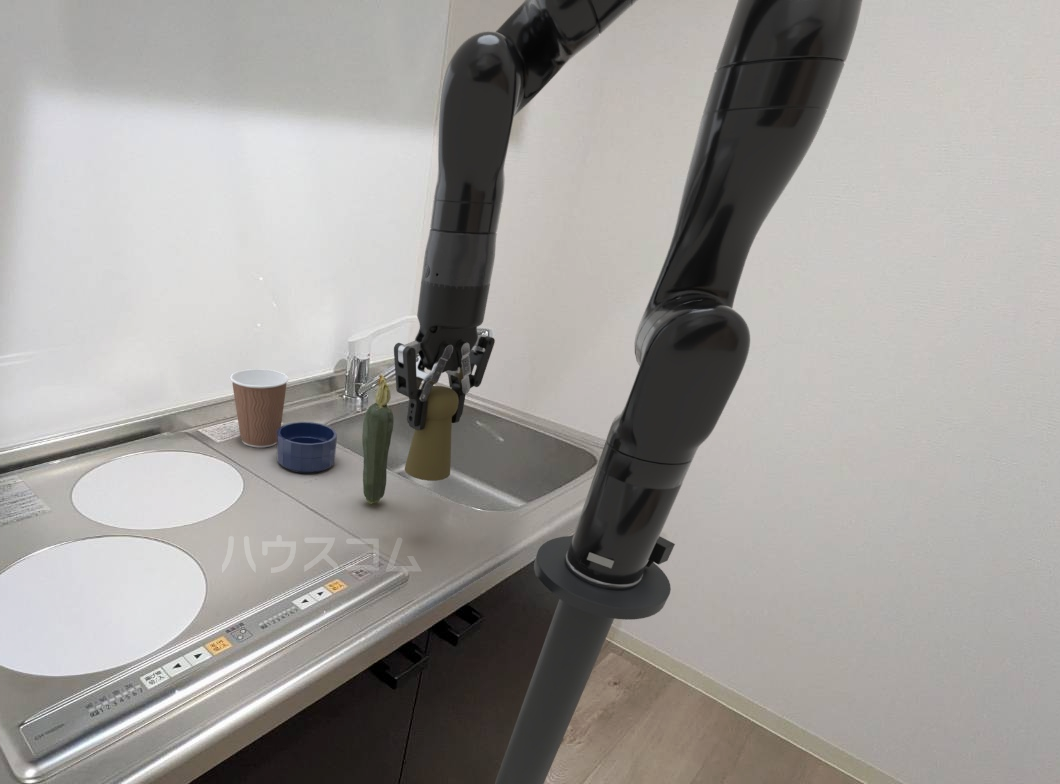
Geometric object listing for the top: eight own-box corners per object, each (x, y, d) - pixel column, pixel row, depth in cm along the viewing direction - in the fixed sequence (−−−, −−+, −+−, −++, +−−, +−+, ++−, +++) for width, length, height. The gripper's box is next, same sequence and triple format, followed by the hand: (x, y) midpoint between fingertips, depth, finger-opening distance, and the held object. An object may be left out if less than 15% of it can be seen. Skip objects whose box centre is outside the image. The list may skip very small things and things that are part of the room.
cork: (398, 475, 75) (408, 391, 69) (411, 457, 80) (421, 378, 74) (444, 484, 74) (458, 399, 68) (454, 466, 78) (468, 385, 72)
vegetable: (383, 513, 89) (399, 383, 77) (355, 511, 89) (367, 380, 78) (383, 499, 92) (398, 373, 81) (355, 497, 92) (367, 371, 81)
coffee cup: (296, 436, 112) (297, 374, 105) (272, 455, 104) (272, 389, 97) (249, 426, 115) (247, 365, 108) (222, 444, 107) (219, 379, 100)
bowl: (315, 446, 108) (316, 418, 105) (346, 468, 101) (348, 438, 98) (266, 456, 104) (266, 427, 101) (295, 479, 97) (295, 448, 94)
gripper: (428, 286, 58) (408, 445, 67) (527, 279, 65) (496, 425, 74) (383, 275, 63) (370, 423, 73) (479, 270, 70) (456, 407, 79)
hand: (434, 423), depth 73 cm, fingers closed on cork, 5 cm apart
